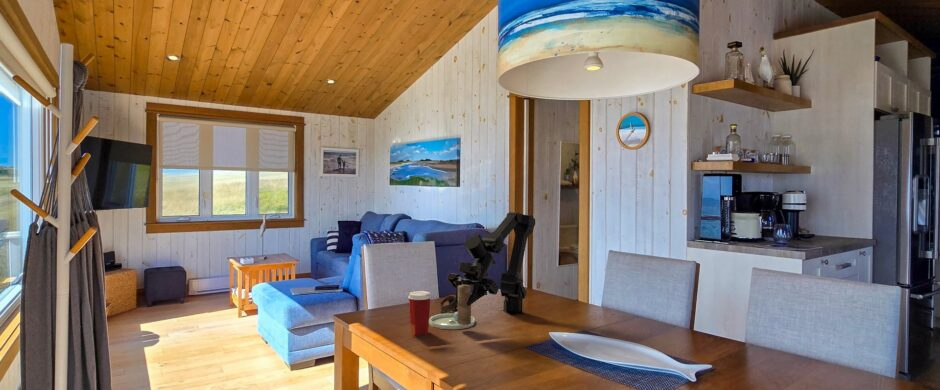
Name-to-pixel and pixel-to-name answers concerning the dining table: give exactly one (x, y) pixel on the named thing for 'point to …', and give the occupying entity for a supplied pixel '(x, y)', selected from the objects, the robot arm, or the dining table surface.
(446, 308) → the brown hollow cylinder
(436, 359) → the dining table surface
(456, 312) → the blue-grey rounded piece
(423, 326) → the paper cup
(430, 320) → the green tray
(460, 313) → the pepper grinder
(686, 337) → the dining table surface
